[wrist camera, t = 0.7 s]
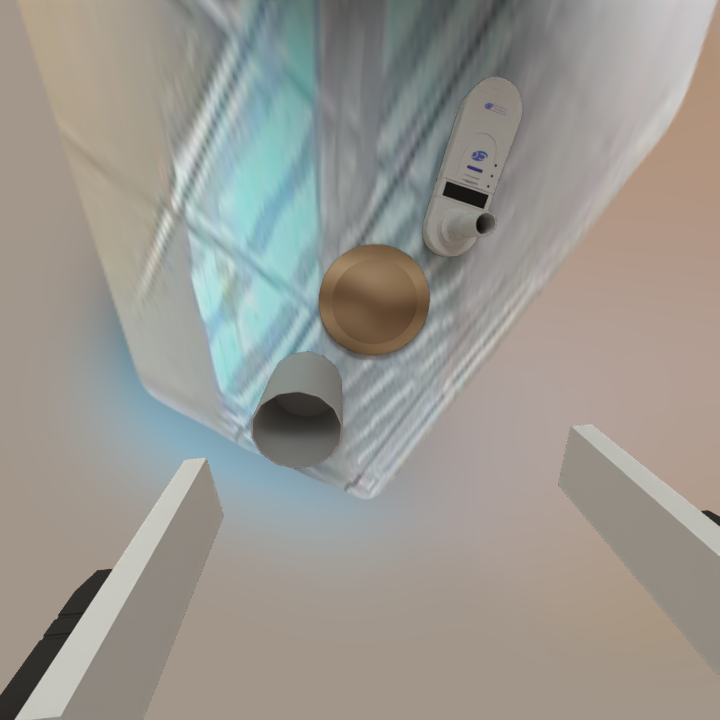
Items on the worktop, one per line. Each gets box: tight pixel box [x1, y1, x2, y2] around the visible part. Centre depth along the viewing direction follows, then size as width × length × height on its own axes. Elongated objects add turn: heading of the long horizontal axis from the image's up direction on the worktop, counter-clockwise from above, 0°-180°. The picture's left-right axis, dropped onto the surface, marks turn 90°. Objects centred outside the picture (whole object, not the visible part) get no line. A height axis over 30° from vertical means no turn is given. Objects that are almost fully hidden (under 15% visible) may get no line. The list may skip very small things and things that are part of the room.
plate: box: [319, 244, 430, 355], centre depth 36 cm, size 12×12×1 cm
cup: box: [251, 351, 343, 469], centre depth 35 cm, size 8×8×10 cm
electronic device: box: [422, 77, 522, 257], centre depth 28 cm, size 5×10×15 cm
